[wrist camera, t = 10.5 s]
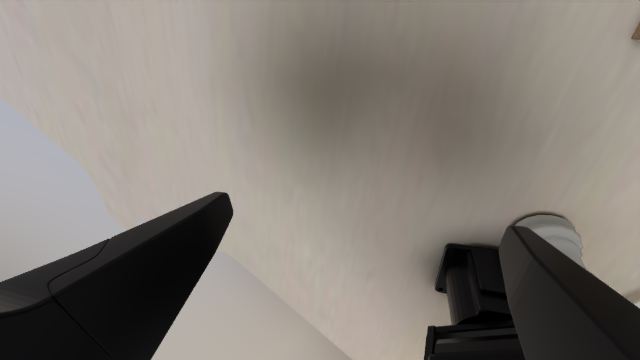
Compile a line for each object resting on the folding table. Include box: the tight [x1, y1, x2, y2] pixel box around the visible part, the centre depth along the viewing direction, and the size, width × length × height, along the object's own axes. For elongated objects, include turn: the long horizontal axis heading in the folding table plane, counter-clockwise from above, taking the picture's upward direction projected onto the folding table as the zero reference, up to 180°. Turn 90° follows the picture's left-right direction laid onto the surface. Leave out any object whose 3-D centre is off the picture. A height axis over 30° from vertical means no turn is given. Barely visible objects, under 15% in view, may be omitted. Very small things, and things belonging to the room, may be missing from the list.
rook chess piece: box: [516, 215, 586, 269], centre depth 18 cm, size 4×4×8 cm
